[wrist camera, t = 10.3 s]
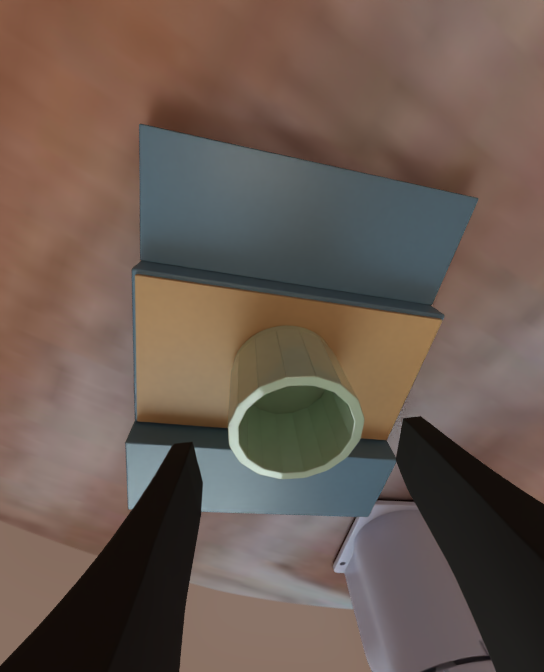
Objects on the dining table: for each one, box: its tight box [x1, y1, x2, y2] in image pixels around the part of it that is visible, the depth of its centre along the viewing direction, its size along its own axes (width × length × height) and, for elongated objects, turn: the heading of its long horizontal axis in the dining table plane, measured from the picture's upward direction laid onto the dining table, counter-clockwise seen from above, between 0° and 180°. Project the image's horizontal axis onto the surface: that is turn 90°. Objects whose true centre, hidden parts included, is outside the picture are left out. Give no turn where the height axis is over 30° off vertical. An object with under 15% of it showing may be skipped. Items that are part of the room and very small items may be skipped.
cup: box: [228, 325, 365, 479], centre depth 13 cm, size 5×5×4 cm
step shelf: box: [125, 124, 478, 517], centre depth 15 cm, size 18×14×4 cm
